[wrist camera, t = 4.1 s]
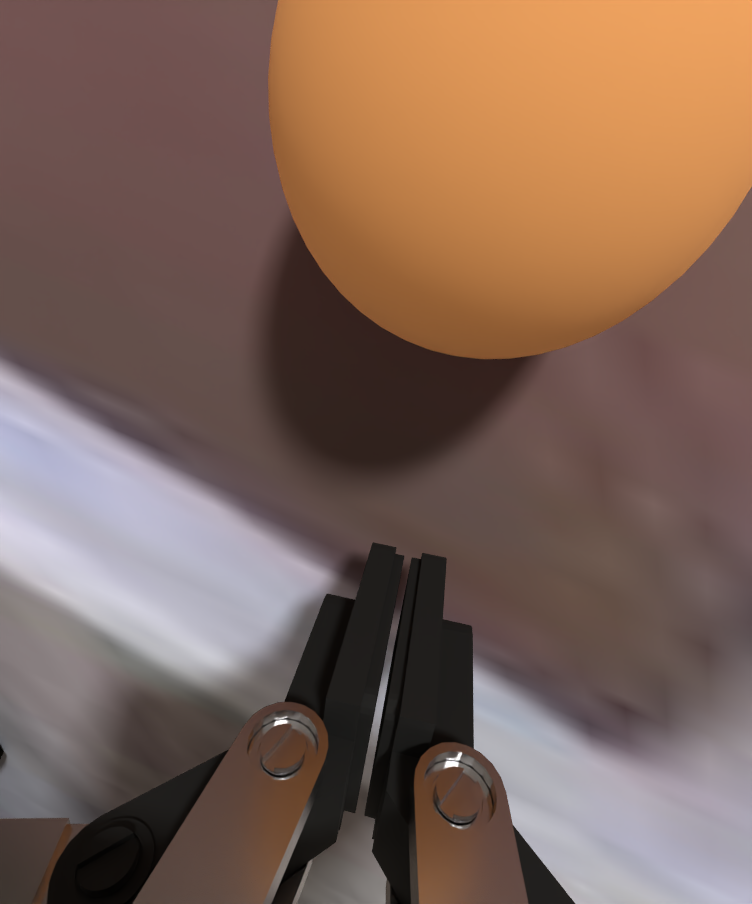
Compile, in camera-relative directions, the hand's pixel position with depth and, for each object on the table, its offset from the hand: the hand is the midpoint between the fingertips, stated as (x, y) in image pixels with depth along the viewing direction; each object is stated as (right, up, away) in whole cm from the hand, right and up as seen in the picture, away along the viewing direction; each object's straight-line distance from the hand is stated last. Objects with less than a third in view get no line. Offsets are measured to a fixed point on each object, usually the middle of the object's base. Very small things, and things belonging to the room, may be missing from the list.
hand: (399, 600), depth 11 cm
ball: (+1, +7, -5) cm, 9 cm away
